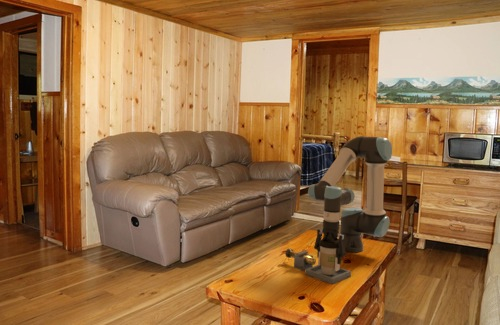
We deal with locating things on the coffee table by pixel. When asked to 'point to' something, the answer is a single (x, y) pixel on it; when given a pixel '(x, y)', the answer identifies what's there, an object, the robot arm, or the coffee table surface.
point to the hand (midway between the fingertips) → (328, 267)
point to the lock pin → (310, 260)
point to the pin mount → (302, 261)
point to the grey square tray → (330, 279)
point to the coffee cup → (328, 256)
